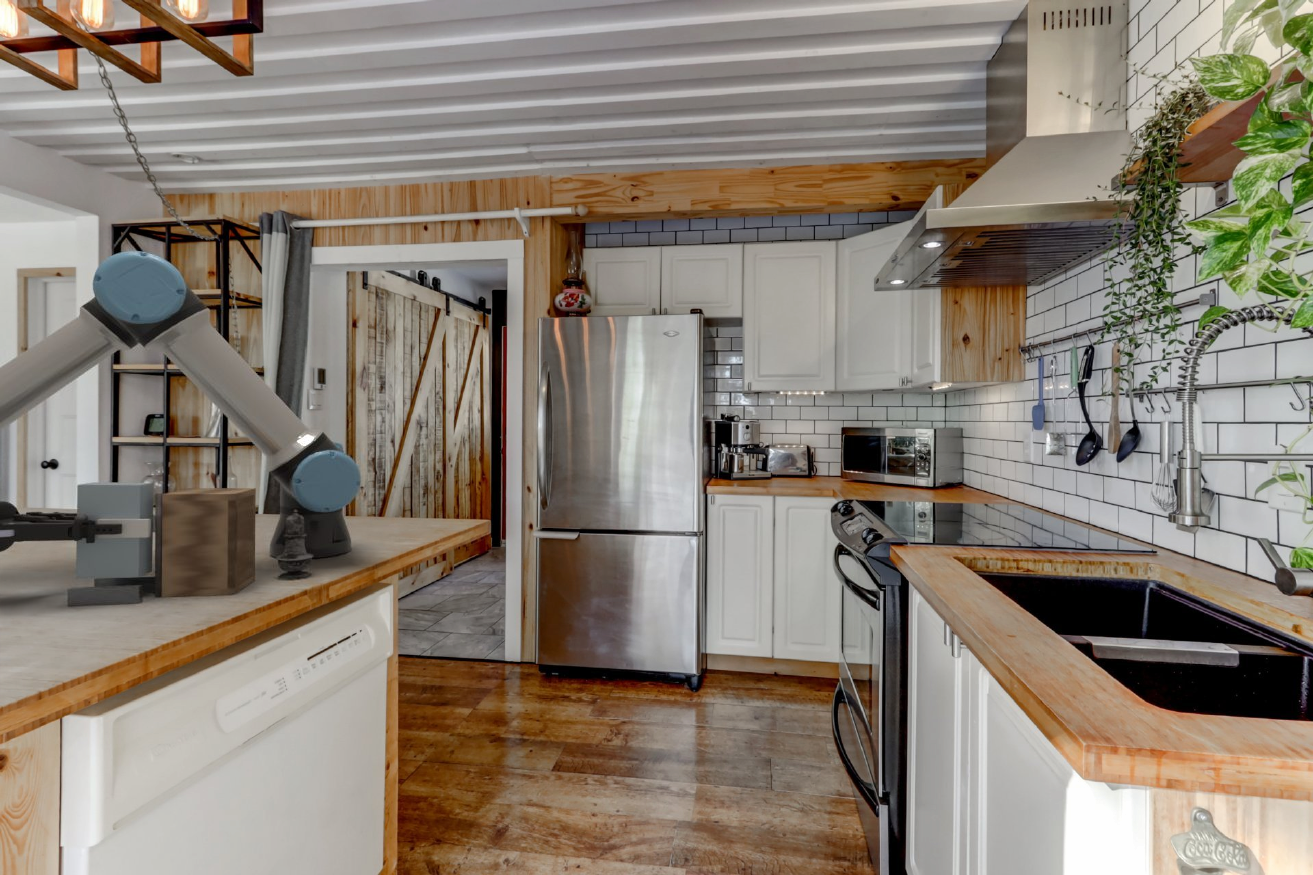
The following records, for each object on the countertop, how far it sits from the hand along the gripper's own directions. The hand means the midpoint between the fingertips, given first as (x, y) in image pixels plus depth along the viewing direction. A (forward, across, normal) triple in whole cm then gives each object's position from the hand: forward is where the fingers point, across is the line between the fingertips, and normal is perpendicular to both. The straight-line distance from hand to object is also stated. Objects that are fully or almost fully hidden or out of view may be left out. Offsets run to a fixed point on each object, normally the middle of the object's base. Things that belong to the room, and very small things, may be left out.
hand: (156, 525), depth 100 cm
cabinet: (+6, -4, -11) cm, 13 cm away
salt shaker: (+17, -11, -11) cm, 23 cm away
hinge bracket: (-5, 0, -11) cm, 12 cm away
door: (-5, 0, -8) cm, 9 cm away
